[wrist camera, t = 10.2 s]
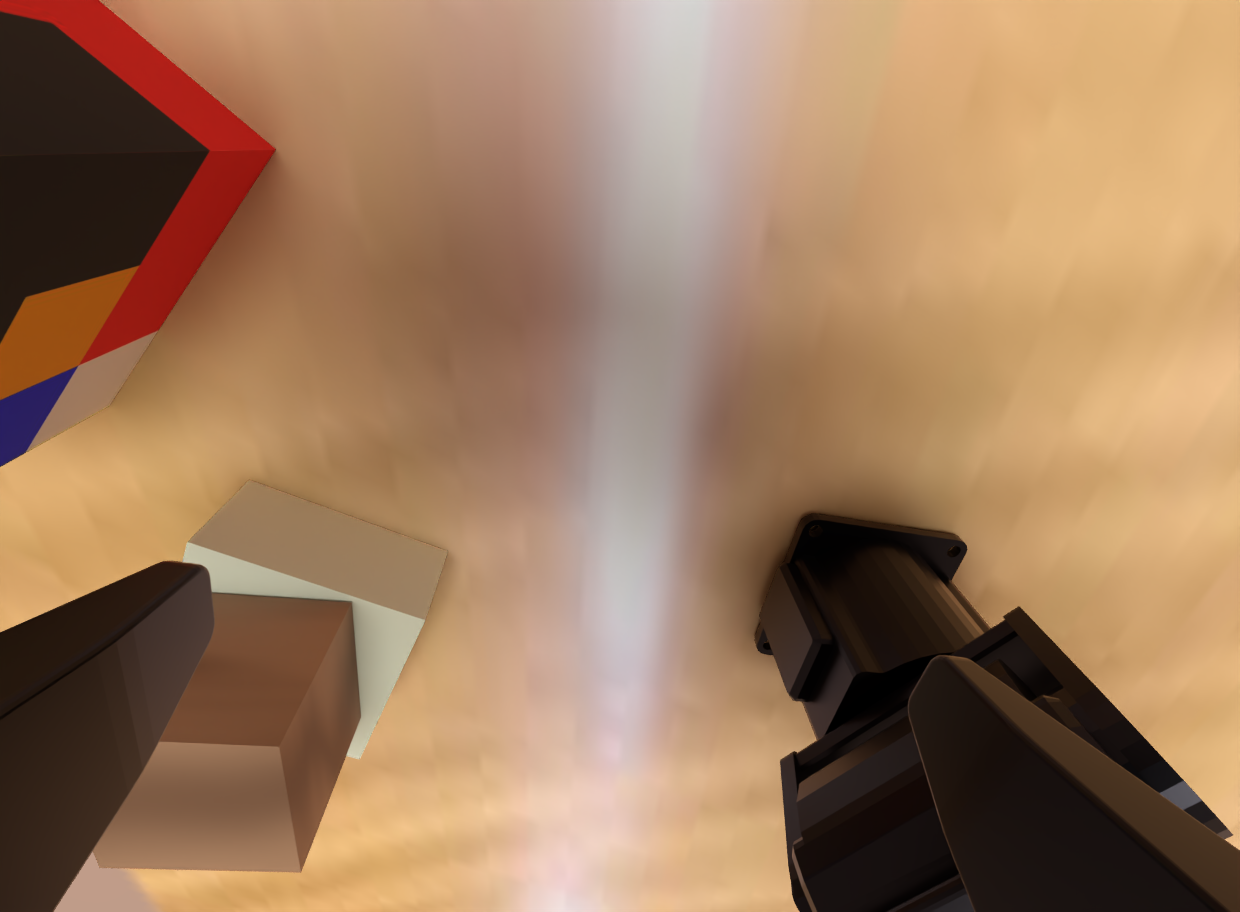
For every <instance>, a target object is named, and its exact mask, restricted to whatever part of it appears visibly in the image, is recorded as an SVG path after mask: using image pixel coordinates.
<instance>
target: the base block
mask: <svg viewBox="0 0 1240 912" xmlns="http://www.w3.org/2000/svg"><path fill="white" fill-rule="evenodd" d="M447 553H448V551H446V550H443V549H440V548H438V547H435V546H432V545H429V544H426V543H424V542H421V541H418V540H415V539H413V538H410V537H407V536H404V535H401V534H399V533H396V532H393V531H390V530H388V529H385V528H382V527H379V526H376V525H374V524H371V523H368V522H365V521H363V520H360V519H357V518H354V517H351V516H349V515H346V514H343V513H340V512H338V511H335V510H332V509H329V508H326V507H324V506H321V505H318V504H315V503H313V502H310V501H307V500H304V499H302V498H299V497H296V496H293V495H290V494H288V493H285V492H282V491H279V490H277V489H274V488H271V487H268V486H265V485H263V484H260V483H257V482H254V481H252V480H249V481H248V482H247V483H246V484H245V485H244V486H243V487H242V488H241V489H240V490H239V491H238V492H237V493H236V494H235V495H234V496H233V497H232V498H231V499H230V500H229V501H228V502H227V503H226V504H225V505H224V506H223V507H222V508H221V509H220V510H219V511H218V512H217V513H216V514H215V515H214V516H213V517H212V518H211V519H210V520H209V521H208V522H207V523H206V524H205V525H204V526H203V527H202V528H201V529H200V530H199V531H198V532H197V533H196V534H195V535H194V536H193V537H192V538H191V539H190V540H189V541H188V542H187V545H186V549H185V553H184V557H183V561H182V562H186V563H194V564H200V565H203V566H205V567H206V568H207V570H208V571H209V574H210V580H211V589H212V593H217V594H232V595H247V596H262V597H277V598H292V599H306V600H321V601H336V602H351V603H352V612H353V624H354V636H355V648H356V661H357V673H358V685H359V697H360V709H361V719H360V721H359V724H358V726H357V729H356V732H355V734H354V737H353V739H352V742H351V744H350V747H349V750H348V752H347V755H346V756H348V757H352V758H356V759H360V757H361V755H362V753H363V751H364V749H365V747H366V745H367V743H368V741H369V738H370V736H371V734H372V732H373V730H374V728H375V726H376V724H377V722H378V719H379V717H380V715H381V713H382V711H383V709H384V707H385V705H386V703H387V700H388V698H389V696H390V694H391V692H392V690H393V688H394V686H395V684H396V681H397V679H398V677H399V675H400V673H401V671H402V669H403V667H404V664H405V662H406V660H407V658H408V656H409V654H410V652H411V650H412V648H413V645H414V643H415V641H416V639H417V637H418V635H419V633H420V631H421V629H422V626H423V624H424V622H425V620H426V617H427V614H428V611H429V608H430V605H431V602H432V599H433V596H434V593H435V590H436V587H437V584H438V581H439V578H440V575H441V572H442V569H443V566H444V562H445V559H446V556H447Z"/></svg>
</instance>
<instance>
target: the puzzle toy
mask: <svg viewBox="0 0 1240 912" xmlns="http://www.w3.org/2000/svg"><path fill="white" fill-rule="evenodd" d="M275 150H276V149H275V148H274V147H272V146H271V145H270V144H269V143H268V142H266V141H265V140H264V139H263V138H262V137H260V136H259V135H258V134H257V133H256V132H255V131H253V130H252V129H251V128H250V127H249V126H247V125H246V124H245V123H244V122H243V121H241V120H240V119H239V118H238V117H237V116H236V115H234V114H233V113H232V112H231V111H230V110H228V109H227V108H226V107H225V106H224V105H222V104H221V103H220V102H219V101H218V100H216V99H215V98H214V97H213V96H212V95H211V94H209V93H208V92H207V91H206V90H205V89H203V88H202V87H201V86H200V85H199V84H197V83H196V82H195V81H194V80H193V79H192V78H190V77H189V76H188V75H187V74H186V73H184V72H183V71H182V70H181V69H180V68H178V67H177V66H176V65H175V64H174V63H172V62H171V61H170V60H169V59H168V58H167V57H165V56H164V55H163V54H162V53H161V52H159V51H158V50H157V49H156V48H155V47H153V46H152V45H151V44H150V43H149V42H147V41H146V40H145V39H144V38H143V37H142V36H140V35H139V34H138V33H137V32H136V31H134V30H133V29H132V28H131V27H130V26H128V25H127V24H126V23H125V22H124V21H123V20H121V19H120V18H119V17H118V16H117V15H115V14H114V13H113V12H112V11H111V10H109V9H108V8H107V7H106V6H105V5H103V4H102V3H101V2H100V1H99V0H0V467H1V466H3V465H5V464H6V463H8V462H10V461H12V460H14V459H15V458H17V457H19V456H21V455H23V454H24V453H26V452H28V451H30V450H32V449H33V448H35V447H37V446H39V445H40V444H42V443H44V442H46V441H48V440H49V439H51V438H53V437H55V436H57V435H58V434H60V433H62V432H64V431H66V430H67V429H69V428H71V427H73V426H75V425H76V424H78V423H80V422H82V421H84V420H85V419H87V418H89V417H91V416H93V415H94V414H96V413H98V412H100V411H102V410H103V409H105V408H107V407H109V406H110V404H111V403H112V401H113V399H114V398H115V396H116V395H117V393H118V392H119V390H120V389H121V387H122V386H123V384H124V383H125V381H126V379H127V378H128V376H129V375H130V373H131V372H132V370H133V369H134V367H135V366H136V364H137V363H138V361H139V359H140V358H141V356H142V355H143V353H144V352H145V350H146V349H147V347H148V346H149V344H150V343H151V341H152V339H153V338H154V336H155V335H156V333H157V332H158V330H159V329H160V327H161V326H162V324H163V322H164V321H165V319H166V318H167V316H168V315H169V313H170V312H171V310H172V309H173V307H174V306H175V304H176V302H177V301H178V299H179V298H180V296H181V295H182V293H183V292H184V290H185V289H186V287H187V286H188V284H189V282H190V281H191V279H192V278H193V276H194V275H195V273H196V272H197V270H198V269H199V267H200V265H201V264H202V262H203V261H204V259H205V258H206V256H207V255H208V253H209V252H210V250H211V249H212V247H213V245H214V244H215V242H216V241H217V239H218V238H219V236H220V235H221V233H222V232H223V230H224V229H225V227H226V225H227V224H228V222H229V221H230V219H231V218H232V216H233V215H234V213H235V212H236V210H237V209H238V207H239V205H240V204H241V202H242V201H243V199H244V198H245V196H246V195H247V193H248V192H249V190H250V188H251V187H252V185H253V184H254V182H255V181H256V179H257V178H258V176H259V175H260V173H261V172H262V170H263V168H264V167H265V165H266V164H267V162H268V161H269V159H270V158H271V156H272V155H273V153H274V152H275Z"/></svg>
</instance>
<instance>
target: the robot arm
mask: <svg viewBox="0 0 1240 912" xmlns="http://www.w3.org/2000/svg"><path fill="white" fill-rule="evenodd" d="M816 525H819V526H818V528H817V529H816V530H814V531H809V530H810V528H811V527H813V526H816ZM953 546H954V547H953ZM951 547H953V549H951V550H949V548H951ZM948 550H949V551H948ZM966 552H967V545H966V544H965V543H964V542H963V541H962V540H961V539H960V538H959V537H958V536H956V535H953V534H947V533H940V532H934V531H927V530H920V529H914V528H907V527H901V526H894V525H888V524H881V523H874V522H868V521H861V520H855V519H848V518H841V517H835V516H828V515H822V514H810V515H807V516H805V517H804V518H803V519H802V520H801V521H800V523H799V525H798V528H797V530H796V533H795V535H794V538H793V541H792V543H791V546H790V548H789V551H788V553H787V556H786V558H785V561H784V562H783V563H782V564H781V565H780V566H779V567H778V568H777V571H776V573H775V576H774V578H773V581H772V584H771V586H770V589H769V591H768V594H767V596H766V599H765V602H764V604H763V607H762V609H761V612H760V615H759V617H760V620H761V622H760V625H759V627H758V630H757V632H756V635H755V639H754V641H755V643H756V646H757V649H758V651H759V652H760V653H763V654H767V655H774V658H775V660H776V663H777V666H778V668H779V671H780V674H781V677H782V679H783V682H784V685H785V687H786V690H787V693H788V694H789V696H790V697H791V698H792V700H793V701H801V702H802V703H803V705H804V708H805V711H806V713H807V716H808V718H809V721H810V723H811V726H812V728H813V731H814V734H815V736H816V739H817V741H815V742H814V743H812V744H811V745H809V746H807V747H806V748H804V749H803V750H801V751H800V752H798V753H797V752H795V751H794V752H792V753H790V754H789V755H787V756H786V757H784V758H783V759H781V760H780V765H781V778H782V790H783V803H784V816H785V828H786V841H787V854H788V866H789V872H790V879H791V887H792V895H793V899H794V902H795V904H796V906H797V908H798V910H799V911H800V912H1240V850H1238V849H1237V848H1236V847H1234V846H1233V845H1231V844H1230V843H1229V842H1227V841H1226V840H1224V839H1226V838H1228V837H1230V836H1233V834H1232V833H1231V832H1230V831H1229V830H1228V829H1227V827H1226V826H1225V825H1224V824H1223V823H1222V822H1221V821H1220V820H1219V819H1218V817H1217V816H1216V815H1215V814H1214V813H1213V812H1212V811H1211V810H1210V809H1209V807H1208V806H1207V805H1206V804H1205V803H1204V802H1203V801H1202V800H1201V799H1200V798H1199V797H1198V795H1197V794H1196V793H1195V792H1194V791H1193V790H1192V789H1191V788H1190V787H1189V786H1188V785H1187V783H1186V782H1185V781H1184V780H1183V779H1182V778H1181V777H1180V776H1179V775H1178V774H1177V773H1176V772H1175V770H1174V769H1173V768H1172V767H1171V766H1170V765H1169V764H1168V763H1167V762H1166V761H1165V760H1164V759H1163V757H1162V756H1161V755H1160V754H1159V753H1158V752H1157V751H1156V750H1155V749H1154V748H1153V747H1152V746H1151V745H1150V744H1149V742H1148V741H1147V740H1146V739H1145V738H1144V737H1143V736H1142V735H1141V734H1140V733H1139V732H1138V731H1137V730H1136V728H1135V727H1134V726H1133V725H1132V724H1131V723H1130V722H1129V721H1128V720H1127V719H1126V718H1125V717H1124V716H1123V715H1122V714H1121V712H1120V711H1119V710H1118V709H1117V708H1116V707H1115V706H1114V705H1113V704H1112V703H1111V702H1110V701H1109V700H1108V699H1107V698H1106V697H1105V696H1104V694H1103V693H1102V692H1101V691H1100V690H1099V689H1098V688H1097V687H1096V686H1095V685H1094V684H1093V683H1092V682H1091V681H1090V680H1089V679H1088V678H1087V677H1086V676H1085V675H1084V674H1083V672H1082V671H1081V670H1080V669H1079V668H1078V667H1077V666H1076V665H1075V664H1074V663H1073V662H1072V661H1071V660H1070V659H1069V658H1068V657H1067V656H1066V655H1065V654H1064V653H1063V652H1062V651H1061V649H1060V648H1059V647H1058V646H1057V645H1056V644H1055V643H1054V642H1053V641H1052V640H1051V639H1050V638H1049V637H1048V636H1047V635H1046V634H1045V633H1044V632H1043V631H1042V630H1041V629H1040V628H1039V626H1038V625H1037V624H1036V623H1035V622H1034V621H1033V620H1032V619H1031V618H1030V617H1029V616H1028V615H1027V614H1026V613H1025V612H1024V611H1023V610H1022V609H1021V608H1020V607H1017V608H1015V609H1014V610H1012V611H1011V612H1009V613H1008V614H1006V615H1005V616H1003V618H1004V619H1005V620H1004V621H1002V622H1000V623H999V624H997V625H996V626H994V627H993V628H990V627H989V626H988V624H987V623H986V622H985V621H984V620H983V619H982V617H981V616H980V615H979V614H978V613H977V611H976V610H975V609H974V608H973V607H972V605H971V604H970V603H969V602H968V601H967V599H966V598H965V597H964V596H963V595H962V593H961V592H960V591H959V590H958V589H957V587H956V586H955V585H954V584H953V583H952V582H951V580H952V578H953V576H954V574H955V573H956V571H957V569H958V567H959V565H960V563H961V562H962V560H963V558H964V556H965V554H966ZM214 626H215V616H214V607H213V598H212V589H211V580H210V574H209V571H208V570H207V568H206V567H205V566H203V565H200V564H194V563H186V562H178V561H163V562H160V563H157V564H155V565H153V566H150V567H148V568H146V569H143V570H141V571H139V572H137V573H134V574H132V575H130V576H128V577H125V578H123V579H121V580H118V581H116V582H114V583H112V584H109V585H107V586H105V587H103V588H100V589H98V590H96V591H93V592H91V593H89V594H87V595H84V596H82V597H80V598H78V599H75V600H73V601H71V602H68V603H66V604H64V605H62V606H59V607H57V608H55V609H52V610H50V611H48V612H46V613H43V614H41V615H39V616H37V617H34V618H32V619H30V620H27V621H25V622H23V623H21V624H18V625H16V626H14V627H12V628H9V629H7V630H5V631H2V632H0V912H54V910H55V909H56V907H57V905H58V904H59V902H60V901H61V899H62V897H63V896H64V894H65V893H66V891H67V890H68V888H69V887H70V885H71V884H72V882H73V881H74V879H75V878H76V876H77V874H78V873H79V871H80V870H81V868H82V867H83V865H84V864H85V862H86V860H87V859H88V857H89V856H90V854H91V853H92V851H93V850H94V848H95V847H96V845H97V843H98V842H99V840H100V839H101V837H102V836H103V834H104V833H105V831H106V829H107V828H108V826H109V825H110V823H111V822H112V820H113V819H114V817H115V816H116V814H117V812H118V811H119V809H120V808H121V806H122V805H123V803H124V802H125V800H126V798H127V797H128V795H129V794H130V792H131V791H132V789H133V787H134V786H135V784H136V782H137V781H138V779H139V777H140V776H141V774H142V773H143V771H144V769H145V767H146V765H147V764H148V762H149V760H150V758H151V756H152V754H153V753H154V751H155V749H156V747H157V745H158V743H159V741H160V739H161V737H162V735H163V733H164V731H165V729H166V727H167V725H168V723H169V721H170V719H171V717H172V715H173V713H174V712H175V710H176V708H177V706H178V704H179V702H180V700H181V698H182V696H183V694H184V692H185V690H186V688H187V686H188V684H189V682H190V680H191V678H192V676H193V674H194V672H195V670H196V668H197V666H198V664H199V662H200V660H201V659H202V657H203V655H204V653H205V651H206V649H207V647H208V645H209V643H210V640H211V638H212V635H213V631H214ZM766 641H768V642H767V643H764V642H766Z"/></svg>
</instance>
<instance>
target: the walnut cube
mask: <svg viewBox="0 0 1240 912" xmlns="http://www.w3.org/2000/svg"><path fill="white" fill-rule="evenodd" d="M212 598H213V607H214V616H215V626H214V631H213V635H212V638H211V640H210V643H209V645H208V647H207V649H206V651H205V653H204V655H203V657H202V659H201V660H200V662H199V664H198V666H197V668H196V670H195V672H194V674H193V676H192V678H191V680H190V682H189V684H188V686H187V688H186V690H185V692H184V694H183V696H182V698H181V700H180V702H179V704H178V706H177V708H176V710H175V712H174V713H173V715H172V717H171V719H170V721H169V723H168V725H167V727H166V729H165V731H164V733H163V735H162V737H161V739H160V741H159V743H158V745H157V747H156V749H155V751H154V753H153V754H152V756H151V758H150V760H149V762H148V764H147V765H146V767H145V769H144V771H143V773H142V774H141V776H140V777H139V779H138V781H137V782H136V784H135V786H134V787H133V789H132V791H131V792H130V794H129V795H128V797H127V798H126V800H125V802H124V803H123V805H122V806H121V808H120V809H119V811H118V812H117V814H116V816H115V817H114V819H113V820H112V822H111V823H110V825H109V826H108V828H107V829H106V831H105V833H104V834H103V836H102V837H101V839H100V840H99V842H98V843H97V845H96V847H95V848H94V850H93V853H94V855H95V857H96V860H97V862H98V865H99V867H100V868H130V869H173V870H217V871H260V872H301V871H302V868H303V866H304V863H305V861H306V858H307V855H308V853H309V850H310V848H311V845H312V843H313V840H314V837H315V835H316V832H317V830H318V827H319V824H320V822H321V819H322V817H323V814H324V812H325V809H326V806H327V804H328V801H329V799H330V796H331V793H332V791H333V788H334V786H335V783H336V781H337V778H338V775H339V773H340V770H341V768H342V765H343V763H344V760H345V757H346V755H347V752H348V750H349V747H350V744H351V742H352V739H353V737H354V734H355V732H356V729H357V726H358V724H359V721H360V719H361V709H360V697H359V685H358V673H357V661H356V648H355V636H354V624H353V612H352V603H351V602H336V601H321V600H306V599H292V598H277V597H262V596H247V595H232V594H217V593H212Z"/></svg>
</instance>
